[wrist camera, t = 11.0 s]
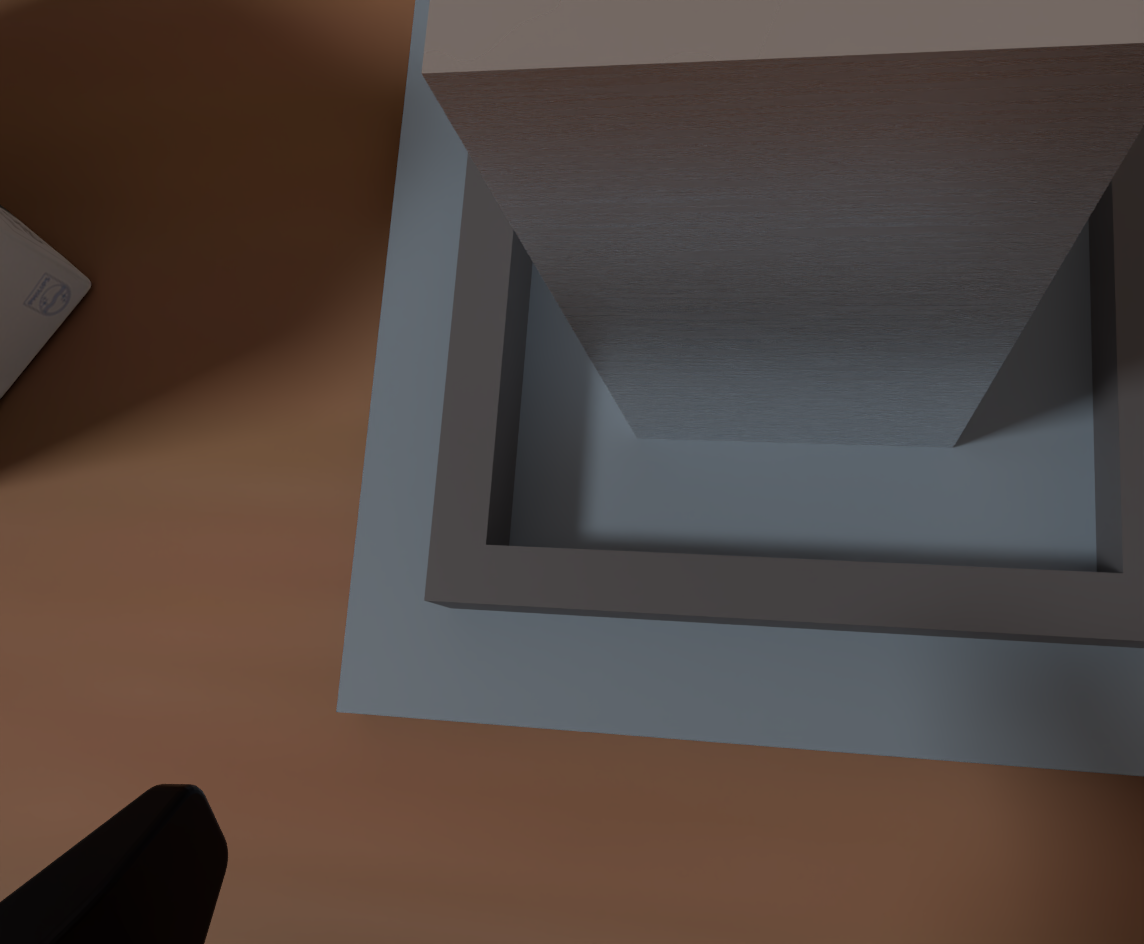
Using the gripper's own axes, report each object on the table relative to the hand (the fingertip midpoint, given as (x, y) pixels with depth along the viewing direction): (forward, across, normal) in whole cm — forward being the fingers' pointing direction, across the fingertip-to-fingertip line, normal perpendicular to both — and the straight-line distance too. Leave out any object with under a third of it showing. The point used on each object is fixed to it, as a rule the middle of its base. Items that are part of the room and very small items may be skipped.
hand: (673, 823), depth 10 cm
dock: (+14, -1, +1) cm, 14 cm away
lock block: (+13, -1, 0) cm, 13 cm away
